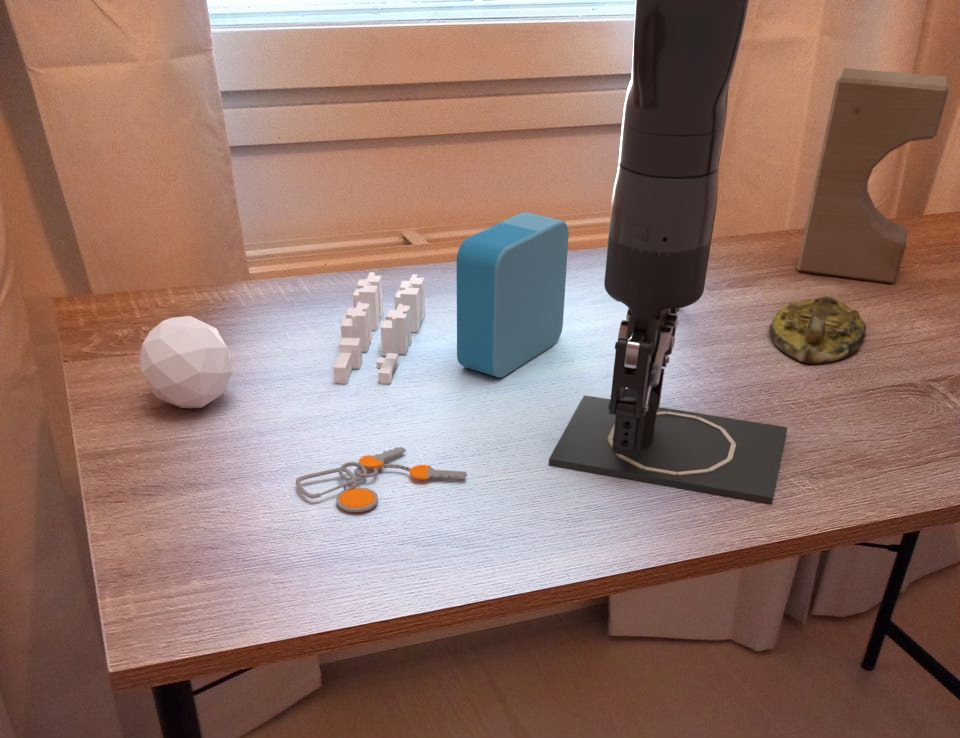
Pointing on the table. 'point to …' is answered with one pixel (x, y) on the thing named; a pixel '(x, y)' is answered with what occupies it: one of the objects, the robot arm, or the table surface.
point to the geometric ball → (185, 362)
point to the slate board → (678, 451)
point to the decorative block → (865, 171)
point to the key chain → (365, 497)
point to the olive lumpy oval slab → (818, 330)
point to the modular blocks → (367, 319)
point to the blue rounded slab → (510, 293)
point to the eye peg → (647, 416)
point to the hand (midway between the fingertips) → (636, 429)
